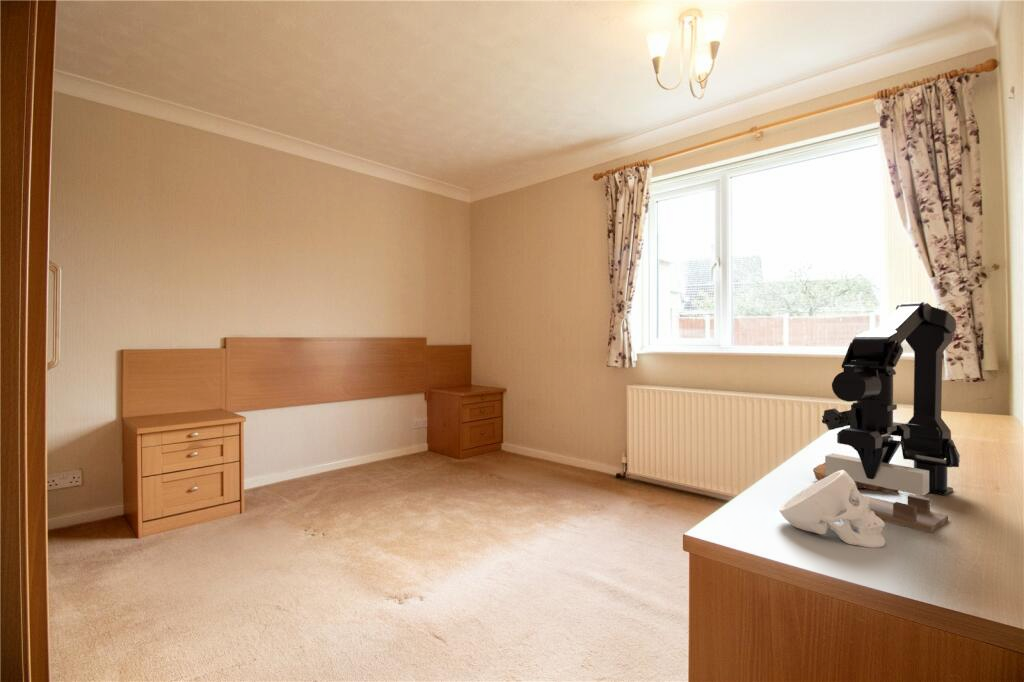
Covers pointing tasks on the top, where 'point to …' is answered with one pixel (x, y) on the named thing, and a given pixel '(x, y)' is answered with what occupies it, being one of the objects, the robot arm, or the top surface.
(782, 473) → the top surface
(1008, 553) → the top surface
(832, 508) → the skull bowl
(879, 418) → the robot arm
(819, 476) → the ceramic shard
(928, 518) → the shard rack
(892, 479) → the clay strip
